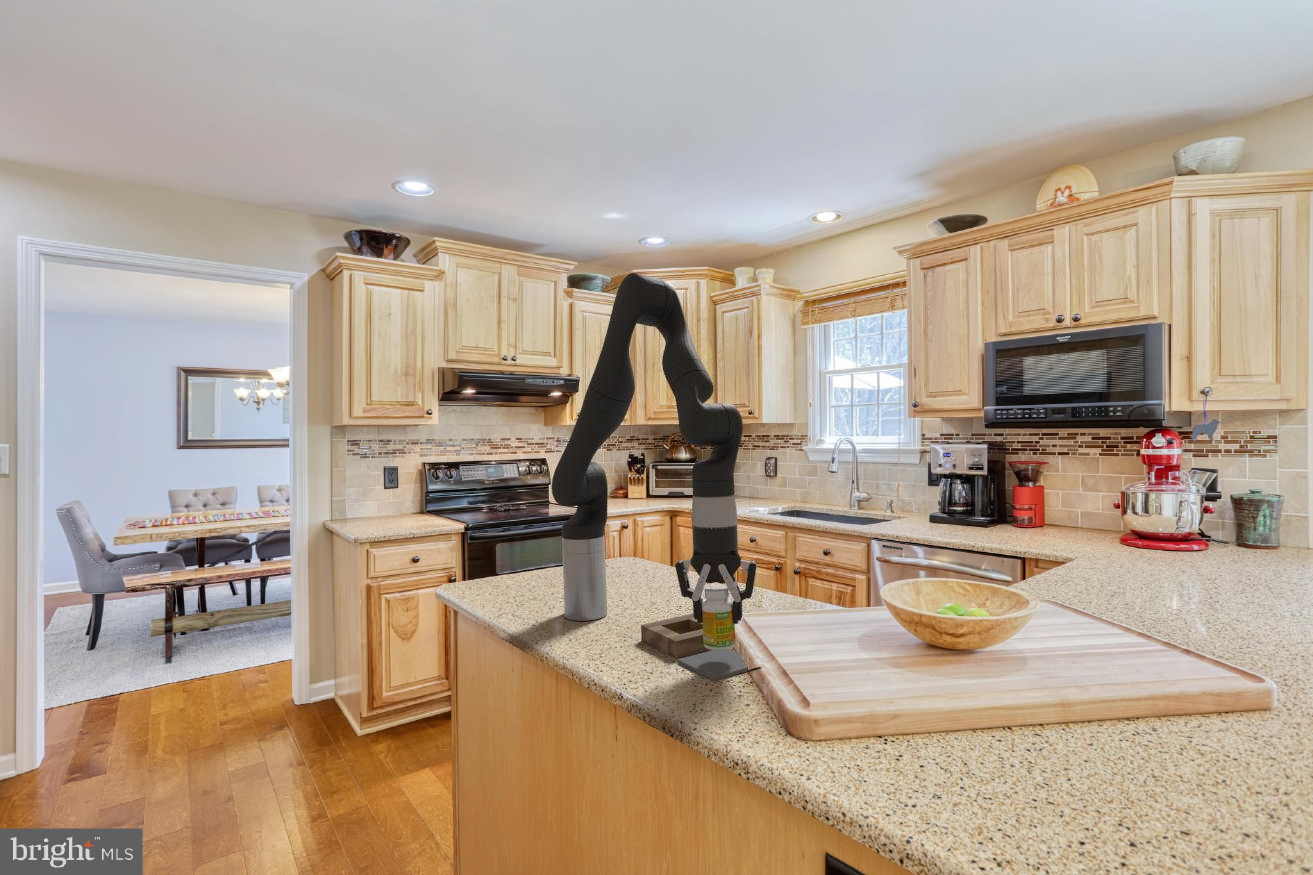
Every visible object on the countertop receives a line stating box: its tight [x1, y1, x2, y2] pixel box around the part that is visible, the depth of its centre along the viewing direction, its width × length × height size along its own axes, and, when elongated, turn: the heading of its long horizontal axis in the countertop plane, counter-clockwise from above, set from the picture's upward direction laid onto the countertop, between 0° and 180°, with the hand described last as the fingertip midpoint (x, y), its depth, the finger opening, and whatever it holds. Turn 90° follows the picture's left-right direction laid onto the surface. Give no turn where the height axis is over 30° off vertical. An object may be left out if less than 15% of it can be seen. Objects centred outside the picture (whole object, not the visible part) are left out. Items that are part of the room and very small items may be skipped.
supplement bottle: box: [702, 585, 737, 651], centre depth 111 cm, size 5×5×10 cm
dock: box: [640, 613, 710, 659], centre depth 123 cm, size 12×12×3 cm
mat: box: [677, 649, 748, 682], centre depth 111 cm, size 10×10×1 cm
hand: (718, 621), depth 111 cm, fingers closed on supplement bottle, 5 cm apart
